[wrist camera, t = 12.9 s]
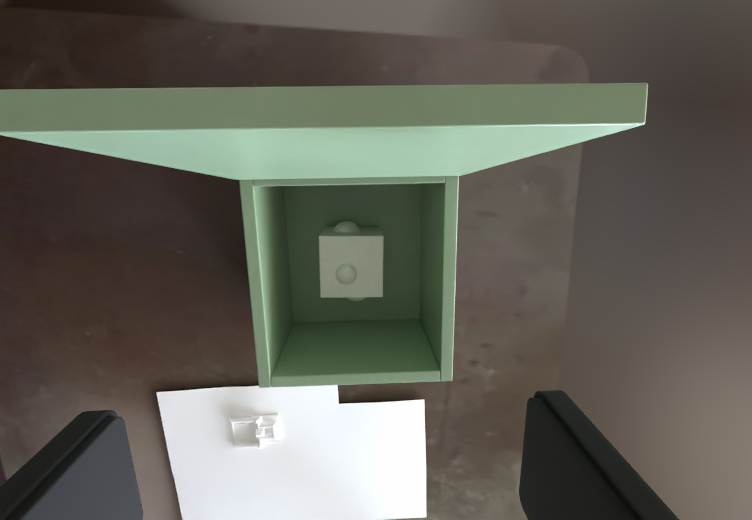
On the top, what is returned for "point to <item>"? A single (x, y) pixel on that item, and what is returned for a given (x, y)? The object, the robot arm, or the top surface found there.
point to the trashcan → (340, 315)
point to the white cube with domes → (351, 261)
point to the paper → (294, 454)
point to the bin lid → (324, 125)
